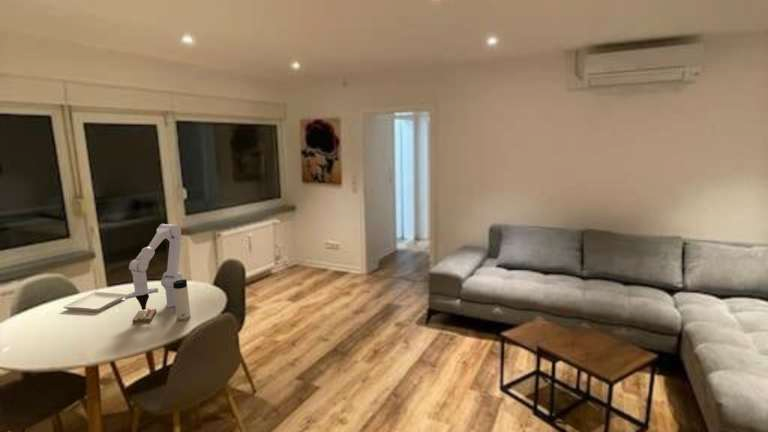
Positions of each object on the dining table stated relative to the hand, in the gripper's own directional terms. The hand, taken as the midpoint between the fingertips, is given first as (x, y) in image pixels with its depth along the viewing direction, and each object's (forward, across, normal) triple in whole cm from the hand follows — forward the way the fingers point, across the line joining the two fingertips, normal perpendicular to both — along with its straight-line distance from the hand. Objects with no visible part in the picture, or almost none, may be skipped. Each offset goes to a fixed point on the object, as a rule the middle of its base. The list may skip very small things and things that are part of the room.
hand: (143, 309), depth 215 cm
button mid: (+3, 0, 0) cm, 3 cm away
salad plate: (+6, +15, -38) cm, 41 cm away
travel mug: (+5, -15, +14) cm, 21 cm away
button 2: (+4, -2, -4) cm, 5 cm away
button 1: (+4, +2, +3) cm, 5 cm away
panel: (+5, 0, 0) cm, 5 cm away
